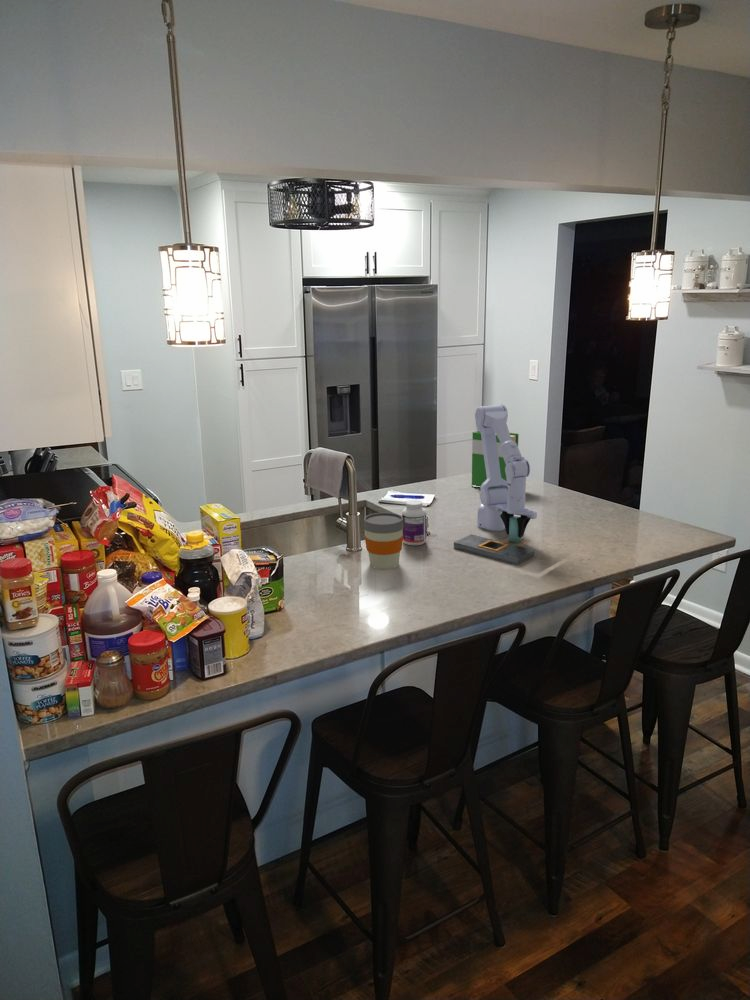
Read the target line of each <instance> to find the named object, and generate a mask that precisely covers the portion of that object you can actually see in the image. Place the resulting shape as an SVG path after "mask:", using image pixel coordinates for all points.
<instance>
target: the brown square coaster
mask: <svg viewBox="0 0 750 1000" xmlns="http://www.w3.org/2000/svg"><path fill="white" fill-rule="evenodd" d="M499 541H500V542H504V543H508V544H512V545H517V546H521V547H523V546H524V545H526V544H528V543H529V542H532V540H531V539H526V538H522V537H521V542H519V543H512V542H509V536H507V537H505V538H503V539H501V540H499Z"/></svg>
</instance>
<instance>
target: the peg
mask: <svg viewBox="0 0 750 1000" xmlns="http://www.w3.org/2000/svg"><path fill="white" fill-rule="evenodd" d="M518 517H519V515H514V516H512V517H510V518H509V535H508V537H509V542H512V543H519V542H521V538H522V537H521V538H520V537H518V521H517V518H518Z"/></svg>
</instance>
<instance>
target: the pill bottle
mask: <svg viewBox="0 0 750 1000" xmlns="http://www.w3.org/2000/svg"><path fill="white" fill-rule="evenodd" d="M401 514H402V515H401V516H402V517H403V522H404V528H403V531H402V534H403V544H405V545H407V546H415V547H416V546H421V545H424V544H425V543H426V542H427V510H426V509H425V508H424V507H423V501H422V500H419V499H410V500H409V499H408V500H407V501H406V502H405V508H403V509H402V511H401Z"/></svg>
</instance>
